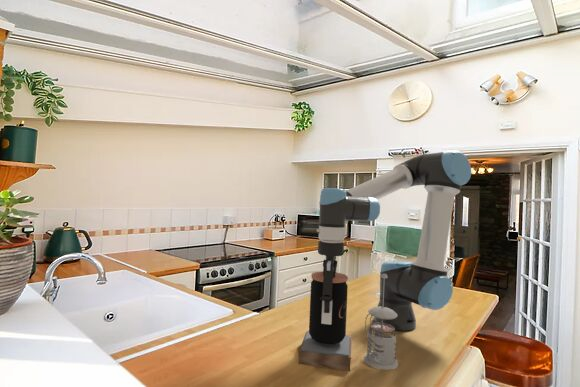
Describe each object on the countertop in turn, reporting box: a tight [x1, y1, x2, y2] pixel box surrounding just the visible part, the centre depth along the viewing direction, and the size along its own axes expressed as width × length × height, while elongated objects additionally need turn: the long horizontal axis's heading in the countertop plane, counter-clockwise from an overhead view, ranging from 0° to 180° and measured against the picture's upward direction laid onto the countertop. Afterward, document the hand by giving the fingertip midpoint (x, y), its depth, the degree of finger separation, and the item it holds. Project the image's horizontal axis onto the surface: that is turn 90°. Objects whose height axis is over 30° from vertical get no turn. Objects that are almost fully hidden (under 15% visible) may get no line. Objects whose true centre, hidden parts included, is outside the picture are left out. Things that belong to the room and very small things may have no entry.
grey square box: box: [298, 330, 352, 372], centre depth 98 cm, size 14×14×4 cm
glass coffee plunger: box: [362, 274, 399, 371], centre depth 98 cm, size 10×12×25 cm
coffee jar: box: [308, 271, 349, 344], centre depth 99 cm, size 11×11×18 cm
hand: (327, 316), depth 99 cm, fingers closed on coffee jar, 11 cm apart
